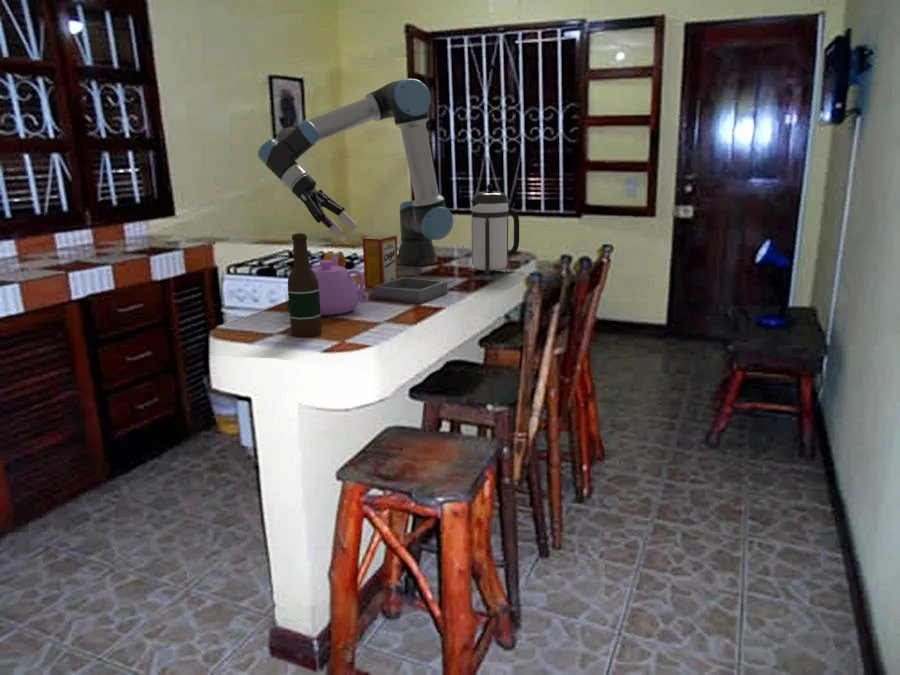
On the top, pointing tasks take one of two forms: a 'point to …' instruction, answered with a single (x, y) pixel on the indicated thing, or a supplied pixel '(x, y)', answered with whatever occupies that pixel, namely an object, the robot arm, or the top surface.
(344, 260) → the bracket
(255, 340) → the top surface
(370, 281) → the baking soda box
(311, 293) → the beer bottle
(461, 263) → the top surface
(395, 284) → the tray
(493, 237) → the coffee press
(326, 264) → the teapot
